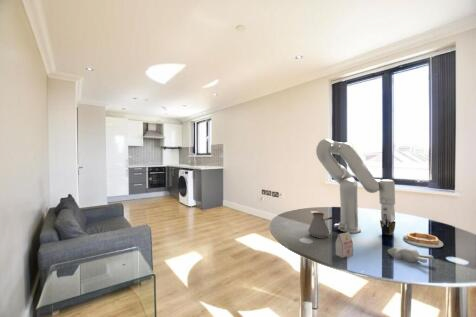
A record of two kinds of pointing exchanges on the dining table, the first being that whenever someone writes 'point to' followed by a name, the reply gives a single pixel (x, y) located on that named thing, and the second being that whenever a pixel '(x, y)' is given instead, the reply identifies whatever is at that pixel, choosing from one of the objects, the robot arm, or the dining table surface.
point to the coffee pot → (319, 225)
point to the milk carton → (344, 245)
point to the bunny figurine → (408, 254)
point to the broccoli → (391, 227)
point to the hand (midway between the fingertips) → (388, 231)
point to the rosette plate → (423, 240)
